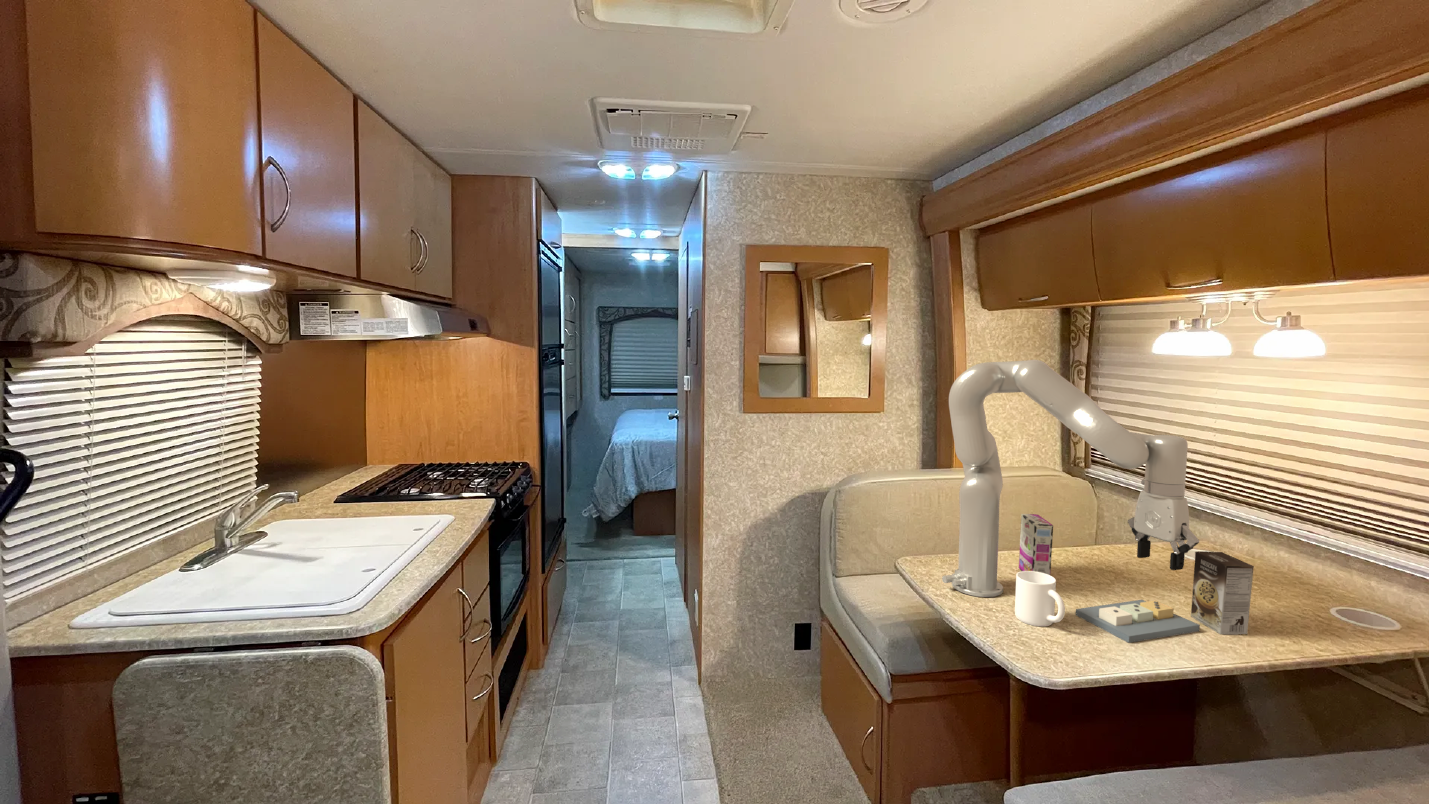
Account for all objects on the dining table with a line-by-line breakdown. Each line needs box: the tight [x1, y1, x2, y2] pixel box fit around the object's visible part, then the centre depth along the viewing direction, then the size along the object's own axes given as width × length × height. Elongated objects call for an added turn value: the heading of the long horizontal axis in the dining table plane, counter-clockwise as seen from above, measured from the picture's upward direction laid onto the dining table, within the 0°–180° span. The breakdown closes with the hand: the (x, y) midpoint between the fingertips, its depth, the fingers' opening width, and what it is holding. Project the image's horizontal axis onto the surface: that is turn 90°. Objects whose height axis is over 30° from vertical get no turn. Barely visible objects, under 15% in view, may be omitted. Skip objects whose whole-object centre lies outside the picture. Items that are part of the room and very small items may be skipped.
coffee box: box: [1190, 550, 1255, 636], centre depth 138 cm, size 9×6×16 cm
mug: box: [1014, 570, 1066, 627], centre depth 140 cm, size 12×8×10 cm
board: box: [1075, 599, 1201, 644], centre depth 140 cm, size 20×14×2 cm
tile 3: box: [1140, 600, 1175, 620], centre depth 142 cm, size 4×4×2 cm
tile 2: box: [1120, 603, 1153, 623], centre depth 140 cm, size 4×4×2 cm
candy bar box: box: [1018, 513, 1054, 576], centre depth 168 cm, size 11×5×16 cm, turn 171°
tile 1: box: [1099, 606, 1132, 626], centre depth 139 cm, size 4×4×2 cm
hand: (1159, 562), depth 141 cm, fingers open, 7 cm apart
